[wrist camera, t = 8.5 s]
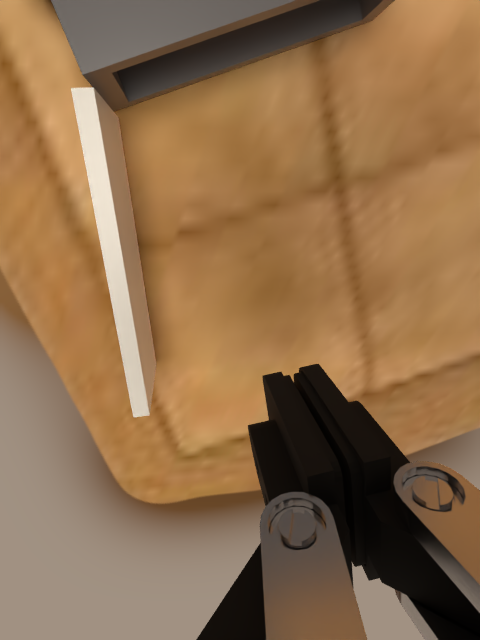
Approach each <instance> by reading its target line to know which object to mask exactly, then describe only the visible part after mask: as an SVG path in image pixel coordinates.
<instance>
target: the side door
mask: <svg viewBox="0 0 480 640" xmlns="http://www.w3.org/2000/svg"><path fill="white" fill-rule="evenodd" d="M71 91H72V96H73V101H74V107H75V112H76V117H77V123H78V128H79V133H80V138H81V144H82V149H83V154H84V159H85V165H86V170H87V175H88V181H89V186H90V191H91V196H92V202H93V207H94V212H95V217H96V223H97V228H98V233H99V238H100V244H101V249H102V254H103V260H104V265H105V270H106V275H107V281H108V286H109V291H110V296H111V302H112V307H113V312H114V318H115V323H116V328H117V333H118V339H119V344H120V349H121V354H122V360H123V365H124V370H125V376H126V381H127V386H128V391H129V397H130V402H131V407H132V412H133V417H140V416H148V415H150V408H151V401H152V393H153V386H154V379H155V372H156V358H155V351H154V345H153V338H152V332H151V325H150V319H149V312H148V306H147V299H146V293H145V286H144V280H143V273H142V267H141V260H140V254H139V247H138V241H137V234H136V227H135V221H134V214H133V208H132V201H131V195H130V188H129V182H128V175H127V169H126V162H125V156H124V149H123V143H122V136H121V130H120V123H119V117H118V116H117V115H116V114H115V113H114V111H113V110H112V109H111V108H110V107H109V105H108V104H107V103H106V102H105V101H104V99H103V98H102V97H101V96H100V95H99V93H98V92H97V91H96V90H95V89H94V88H71Z"/></svg>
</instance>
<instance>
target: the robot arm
mask: <svg viewBox="0 0 480 640" xmlns="http://www.w3.org/2000/svg"><path fill="white" fill-rule="evenodd" d="M263 384H264V391H265V397H266V403H267V410H268V416H269V421H265V422H261V423H256V424H252V425H248V430H249V436H250V441H251V447H252V452H253V457H254V461H255V466H256V470H257V474H258V479H259V482H260V486H261V490H262V494H263V498H264V502H265V505H266V507H265V509H264V511H263V513H262V515H261V521H260V537H261V543H260V545H259V546H258V548H257V549H256V551H255V552H254V554H253V555H252V557H251V558H250V560H249V561H248V563H247V564H246V566H245V568H244V569H243V570H242V572H241V574H240V575H239V576H238V578H237V579H236V581H235V582H234V584H233V585H232V587H231V588H230V590H229V591H228V593H227V594H226V596H225V597H224V599H223V600H222V602H221V603H220V605H219V607H218V608H217V610H216V611H215V613H214V614H213V616H212V617H211V619H210V620H209V622H208V623H207V625H206V626H205V628H204V629H203V631H202V632H201V634H200V635H199V637H198V638H197V640H367V637H366V633H365V630H364V626H363V622H362V619H361V615H360V611H359V608H358V604H357V601H356V597H355V594H354V590H353V577H352V563H353V564H354V566H355V567H356V566H360V565H362V567H363V569H364V571H365V573H366V575H367V578H368V580H373V579H377V578H380V580H381V582H382V583H384V584H386V585H388V586H390V587H392V588H394V589H395V592H396V595H397V597H398V599H399V601H400V603H401V605H402V607H403V608H404V609H405V611H406V612H407V614H408V615H409V617H410V618H411V619H412V621H413V623H414V624H415V625H416V627H417V628H418V630H419V632H420V633H421V634H422V636H423V637H424V639H425V640H480V490H479V489H477V488H476V487H475V486H474V485H472V484H471V483H470V482H469V481H468V480H466V479H465V478H464V477H463V476H462V475H460V474H459V473H457V472H456V471H454V470H452V469H451V468H448V467H445V466H444V465H441V464H438V463H433V462H428V461H416V462H411V463H410V462H409V461H408V459H407V458H406V457H405V456H404V455H403V453H402V452H401V451H400V450H399V449H398V447H397V446H396V445H395V444H394V442H393V441H392V440H391V439H390V438H389V436H388V435H387V434H386V433H385V432H384V430H383V429H382V428H381V427H380V426H379V424H378V423H377V422H376V421H375V420H374V418H373V417H372V416H371V415H370V414H369V412H368V411H367V410H366V409H365V408H364V406H363V405H362V404H361V403H360V402H358V401H353V402H348V401H347V400H346V398H345V397H344V396H343V395H342V393H341V392H340V391H339V389H338V388H337V387H336V386H335V384H334V383H333V382H332V380H331V379H330V378H329V377H328V375H327V374H326V373H325V371H324V370H323V369H322V368H321V366H320V365H319V364H314V365H310V366H305V367H300V368H299V373H296V374H294V382H293V381H292V379H291V377H290V376H289V375H287V376H283V374H282V372H277V373H273V374H268V375H264V376H263Z"/></svg>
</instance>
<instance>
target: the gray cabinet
mask: <svg viewBox="0 0 480 640" xmlns="http://www.w3.org/2000/svg"><path fill="white" fill-rule="evenodd" d="M393 1H395V0H51V2H52V4H53V6H54V9H55V11H56V13H57V16H58V18H59V20H60V23H61V25H62V27H63V30H64V32H65V34H66V37H67V39H68V42H69V44H70V46H71V49H72V51H73V53H74V56H75V58H76V60H77V63H78V65H79V67H80V70H81V72H82V74H83V76H84V77H85V78H86V79H87V81H88V82H89V83H90V84H91V85H92V87H93V88H94V89H95V90H96V91H97V92H98V93H99V95H100V96H101V97H102V98H103V99H104V101H105V102H106V103H107V104H108V105H109V107H110V108H111V109H112V110H113V111H117V110H120V109H123V108H125V107H128V106H131V105H134V104H137V103H140V102H142V101H145V100H148V99H151V98H154V97H157V96H160V95H162V94H165V93H168V92H171V91H174V90H177V89H179V88H182V87H185V86H188V85H191V84H194V83H196V82H199V81H202V80H205V79H208V78H211V77H213V76H216V75H219V74H222V73H225V72H228V71H230V70H233V69H236V68H239V67H242V66H245V65H247V64H250V63H253V62H256V61H259V60H262V59H264V58H267V57H270V56H273V55H276V54H279V53H281V52H284V51H287V50H290V49H293V48H296V47H298V46H301V45H304V44H307V43H310V42H313V41H315V40H318V39H321V38H324V37H327V36H330V35H333V34H335V33H338V32H341V31H344V30H347V29H350V28H352V27H355V26H358V25H361V24H364V23H367V22H369V21H372V20H373V19H374V18H375V17H377V16H378V15H379V14H380V13H381V12H382V11H383V10H384V9H386V8H387V7H388V6H389V5H390V4H391V3H392V2H393Z"/></svg>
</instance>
